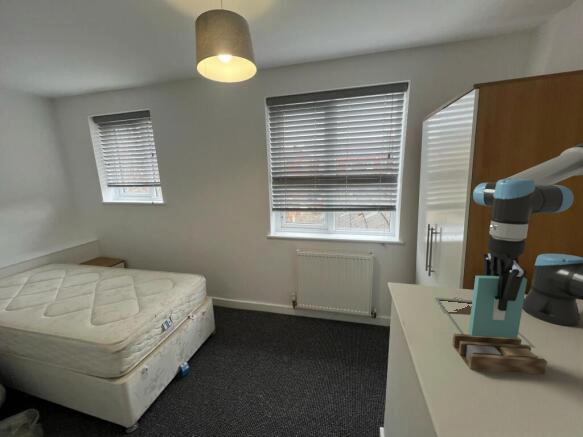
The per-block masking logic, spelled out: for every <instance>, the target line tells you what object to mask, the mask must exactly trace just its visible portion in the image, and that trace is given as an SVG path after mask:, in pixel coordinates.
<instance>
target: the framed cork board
mask: <svg viewBox="0 0 583 437" xmlns="http://www.w3.org/2000/svg"><path fill="white" fill-rule="evenodd" d="M456 298H457V297H454V298H448V297H447V298H444V297H434V300H435V299H436V301H437V302H438V304H439V305H440V307H441V308H440V307H439V308H440V310H441V309H442V310H443V311H442V310H441V311H442V313H443V314H444V313H445V314H446V315H447V316H448V318H449V319H450V321H451V322H452V324H453V325H454V326H455V327H456V329H457V330H458V332H459V334H465V333H464V332H463V331H462V329H461V328H460V326H459V324H457V322H456V321H455V319H454V318H453V317H452V315H462V316H463V315H466V316H467V315H468V316H469V315H470V316H471V308H472V306H471V307H470V306H469V305H468V306H467V307H465V308H462V309H459V310H458V309H456V310H454V311H457V312H448V311H447V310H446V309H445V307H444V306H443V305H442V303H441V302H440V301H448V302H458V303H467V304H472V299H471V300H470V299H469V300H468V299H464V298H463V299H462V298H460V297H458V298H459V299H461V300H459V299H456ZM436 301H435V302H436ZM437 302H436V303H437ZM438 304H437V305H438ZM439 305H438V306H439ZM445 314H444V315H445ZM518 335H519V336H520V337H521V339H523V340H525V341H526V343H527V344H524V343H521V345H528V346H530V347H531V349H532V348H534V349H535V348H536V346H535V345H534V344H533V343H531V342H530V341H529V339H527V338H526V337H525V336H524V335H523V334H522V333H521V332H520V331H518Z"/></svg>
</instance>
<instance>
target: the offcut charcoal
mask: <svg viewBox="0 0 583 437" xmlns="http://www.w3.org/2000/svg"><path fill="white" fill-rule="evenodd" d="M470 354H484V355H499V356H501V355H502V354H501V353H500V352H499V351H498V350H497V349H496V348H495V347H491V346H476V345H467V350H466V358H467V360H468V361H469V356H470Z"/></svg>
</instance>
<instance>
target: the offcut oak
mask: <svg viewBox="0 0 583 437" xmlns="http://www.w3.org/2000/svg"><path fill="white" fill-rule="evenodd" d="M500 353H501V354H502V355H501V356H513V357H527V358H538V356H537V355H536V354H534V352H532V350H531V351H530V350H529V349H522V348H507V347H500Z"/></svg>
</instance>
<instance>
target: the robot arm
mask: <svg viewBox="0 0 583 437" xmlns="http://www.w3.org/2000/svg"><path fill="white" fill-rule="evenodd" d="M573 176H583V142H582V143H580V144H577V145H575V146H573V147H570V148H567V149H565V150H564V151H562V152H561V153H560V155H559V156H556V157H553V158H552V159H549V160H546V161H544V162H542V163H539V164H536V165H535V166H532V167H530V168H528V169H525V170H523V171H521V172H518V173H516V174H513V175H511V176H509V177H506V178H503V179H499V180H497V181H496V182H481V183H479V184H478V185H477V186H475V187H474V189H473V193H472V197H473V198H472V199H473V201H474V202H475V203H476V204H477V205H480V206H485V207H487V208H489V207H491V208H492V211H491V217H490V225H489V236H488V239H487V240H488V241H487V249H488V250H489V253H483V255H482V257H483V276H499V283H498V295H497V296H494V297H495V299H494V306H493V313H492V319H493V320H504V317H505V311H506V310H507V304H508V301H516V298H517V295H518V292H519V289H520V285H521V282H522V279H523V277H524V278H525V276H526V275H527V273H528V271H527V269H525V268H524V269H522V268H521V266H520V260H519V257H520V256H521V255H523V254H525V248H526V240H525V239H527V237H528V230H529V229H528V228H529V222H530V215H541V214H549V215H550V214H555V213H560V212H565V211H566V210H568V209H569V208H570V207H572V205H573V204H574V203H573V202H574V193H573V191H572V190H571V189H570V188H568V187H567V186H564V185H559V184H557V183H559V182H562V181H563V180H567V179H569V178H572V177H573ZM577 299H579V300H582V301H583V257H582V256H577V255H571V254H565V253H542V254H539V255H538V256H537V257H536V260H535V263H534V268H533V274H532V279H531V286H530V289H529V291H528V293H527V294H526V295H525V297H524V301H523V307H522V311H524V312H525V313H526V314H528V315H530V316H533V317H535V319H539V320H542V321H545V322H546V323H547V322H548V323H551V324H556V325H561V326H566V327H570V326H571V327H572V326H577V325H578V324H580V320H581V315H580V312H579V307H578V303H577Z"/></svg>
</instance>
